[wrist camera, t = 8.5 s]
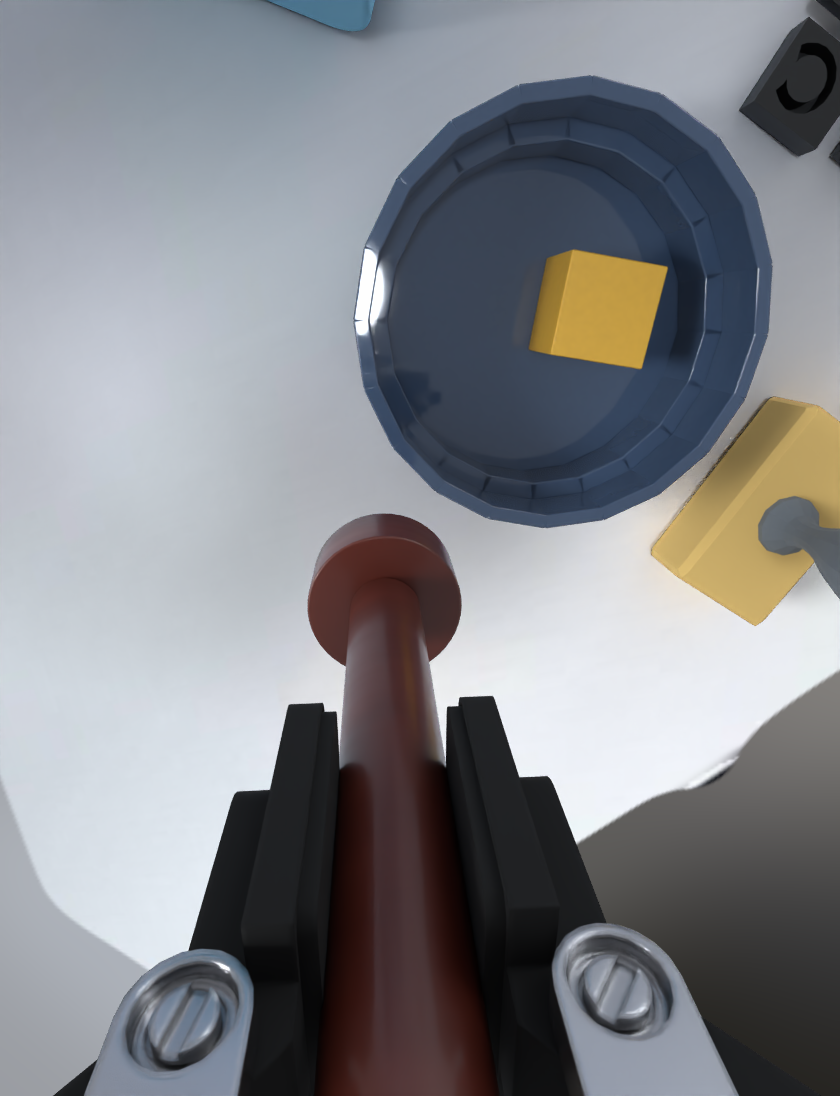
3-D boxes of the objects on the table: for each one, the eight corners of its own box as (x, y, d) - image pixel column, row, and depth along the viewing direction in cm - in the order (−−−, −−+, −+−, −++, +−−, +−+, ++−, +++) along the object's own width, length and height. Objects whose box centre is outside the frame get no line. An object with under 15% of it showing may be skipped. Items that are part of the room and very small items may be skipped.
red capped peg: (290, 605, 18) (87, 1318, 5) (355, 487, 17) (302, 1016, 4) (409, 661, 19) (488, 1386, 6) (478, 553, 18) (746, 1152, 5)
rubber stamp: (723, 600, 36) (882, 729, 25) (645, 551, 35) (777, 664, 23) (847, 452, 34) (1086, 522, 22) (769, 393, 32) (982, 434, 21)
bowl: (300, 395, 31) (284, 413, 25) (469, 42, 26) (496, -32, 21) (576, 542, 34) (616, 586, 29) (765, 253, 30) (856, 238, 24)
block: (527, 350, 30) (550, 354, 26) (546, 257, 29) (572, 248, 25) (609, 363, 30) (642, 369, 27) (631, 272, 29) (669, 266, 25)
